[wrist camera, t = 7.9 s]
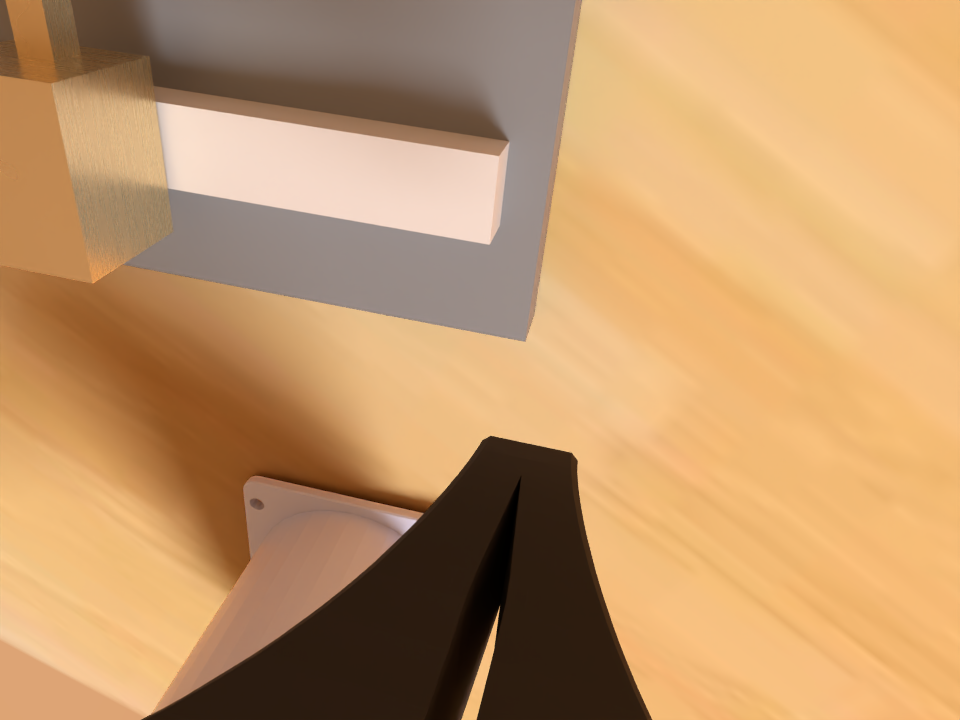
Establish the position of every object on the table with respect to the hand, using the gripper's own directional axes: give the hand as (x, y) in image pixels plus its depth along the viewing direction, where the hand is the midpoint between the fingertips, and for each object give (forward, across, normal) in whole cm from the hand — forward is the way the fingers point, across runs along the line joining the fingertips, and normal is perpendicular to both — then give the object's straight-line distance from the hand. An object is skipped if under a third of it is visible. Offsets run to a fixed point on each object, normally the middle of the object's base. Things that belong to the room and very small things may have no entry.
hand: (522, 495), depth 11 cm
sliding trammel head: (+8, +11, -4) cm, 14 cm away
